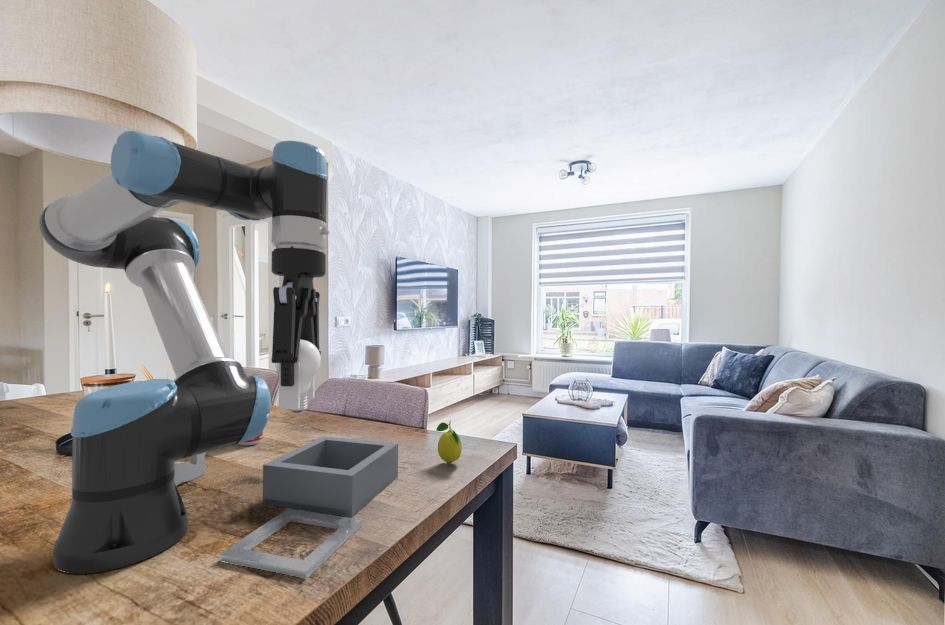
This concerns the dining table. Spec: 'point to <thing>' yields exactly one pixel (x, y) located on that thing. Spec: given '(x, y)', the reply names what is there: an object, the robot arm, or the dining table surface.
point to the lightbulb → (306, 370)
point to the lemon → (449, 444)
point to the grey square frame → (285, 565)
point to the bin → (330, 475)
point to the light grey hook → (190, 469)
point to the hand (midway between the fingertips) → (297, 402)
